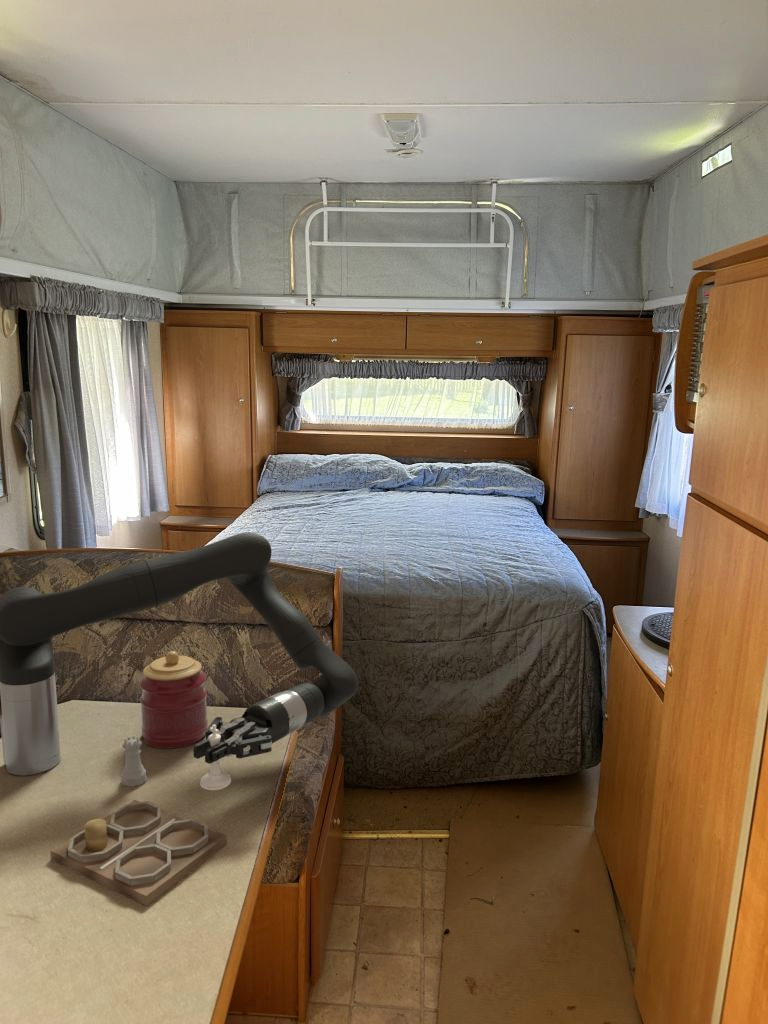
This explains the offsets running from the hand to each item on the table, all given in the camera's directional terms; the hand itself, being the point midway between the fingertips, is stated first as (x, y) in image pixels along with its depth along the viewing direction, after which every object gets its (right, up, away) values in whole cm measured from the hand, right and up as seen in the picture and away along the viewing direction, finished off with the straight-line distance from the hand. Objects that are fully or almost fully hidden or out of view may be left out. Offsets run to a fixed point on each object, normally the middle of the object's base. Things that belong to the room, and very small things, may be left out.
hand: (201, 755), depth 118 cm
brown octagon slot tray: (-8, -13, -6) cm, 16 cm away
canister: (-13, -7, +32) cm, 35 cm away
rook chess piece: (-16, -10, +14) cm, 23 cm away
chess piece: (+2, -6, +3) cm, 7 cm away
